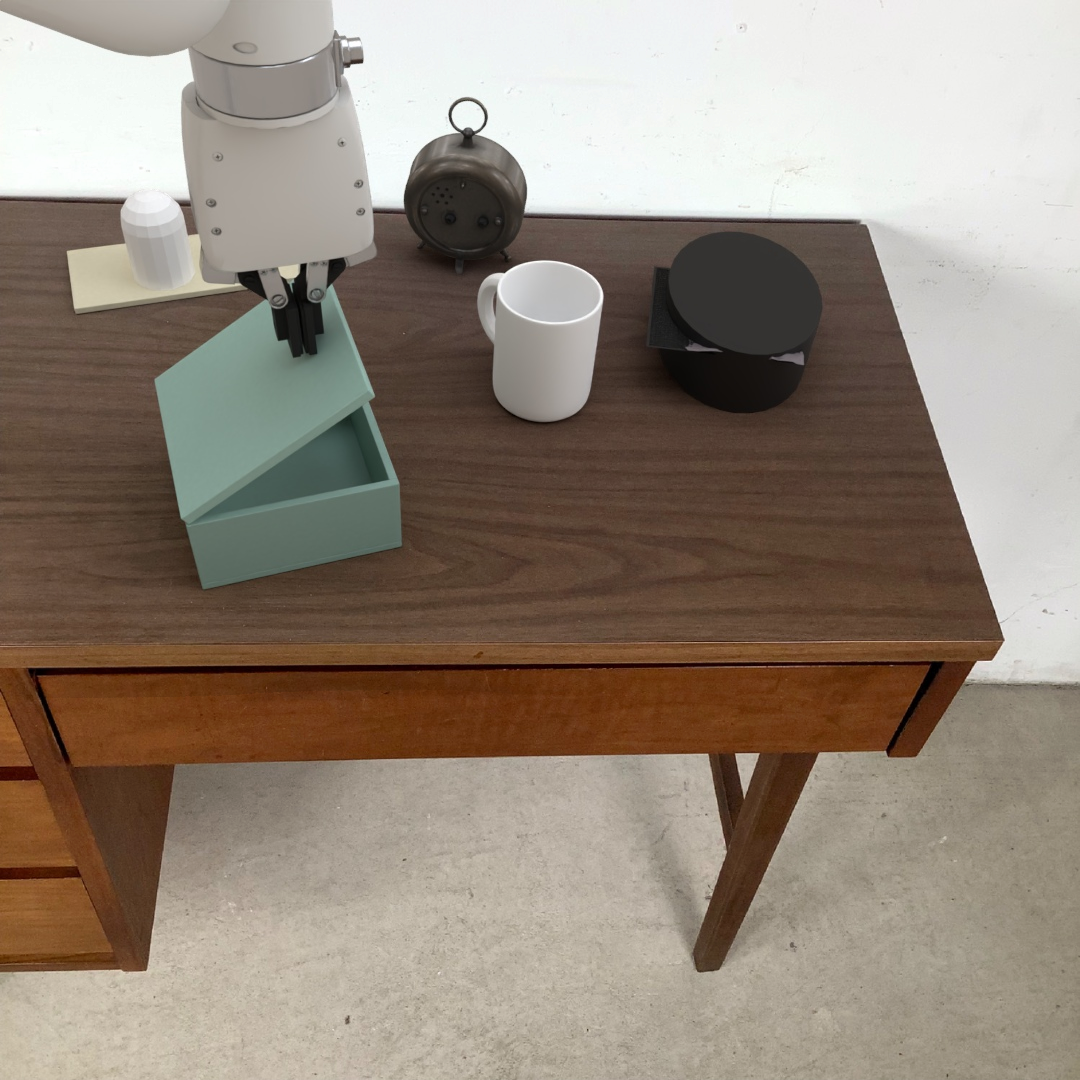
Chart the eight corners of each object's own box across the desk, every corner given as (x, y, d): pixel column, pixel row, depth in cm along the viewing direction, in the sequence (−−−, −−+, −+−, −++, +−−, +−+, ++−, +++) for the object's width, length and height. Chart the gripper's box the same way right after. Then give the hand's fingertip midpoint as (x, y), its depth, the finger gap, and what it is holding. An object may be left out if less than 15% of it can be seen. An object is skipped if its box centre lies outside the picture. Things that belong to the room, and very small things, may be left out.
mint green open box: (356, 419, 86) (351, 355, 81) (402, 546, 78) (399, 483, 73) (175, 452, 82) (158, 387, 77) (202, 590, 74) (186, 526, 69)
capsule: (197, 255, 98) (182, 176, 92) (192, 290, 95) (175, 210, 89) (137, 256, 98) (117, 176, 92) (130, 291, 94) (109, 210, 88)
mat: (75, 314, 92) (73, 308, 92) (68, 256, 98) (66, 250, 97) (305, 281, 98) (305, 275, 98) (286, 228, 103) (285, 222, 103)
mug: (443, 365, 92) (443, 263, 84) (513, 328, 96) (520, 227, 88) (539, 440, 86) (548, 338, 79) (609, 397, 90) (625, 296, 83)
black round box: (800, 308, 103) (818, 238, 97) (809, 423, 90) (831, 349, 84) (649, 292, 103) (659, 221, 98) (638, 403, 91) (648, 329, 85)
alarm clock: (523, 252, 104) (535, 90, 91) (517, 285, 100) (528, 120, 88) (411, 239, 104) (408, 75, 91) (401, 271, 100) (396, 105, 88)
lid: (326, 267, 75) (319, 259, 74) (375, 397, 66) (368, 389, 66) (161, 385, 77) (153, 379, 77) (189, 524, 69) (180, 519, 68)
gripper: (385, 25, 61) (396, 292, 75) (110, 49, 57) (176, 327, 71) (421, 87, 56) (425, 359, 70) (125, 118, 52) (192, 400, 66)
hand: (300, 342), depth 70 cm, fingers closed
